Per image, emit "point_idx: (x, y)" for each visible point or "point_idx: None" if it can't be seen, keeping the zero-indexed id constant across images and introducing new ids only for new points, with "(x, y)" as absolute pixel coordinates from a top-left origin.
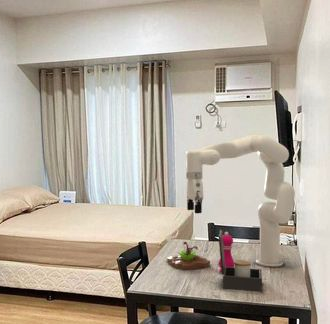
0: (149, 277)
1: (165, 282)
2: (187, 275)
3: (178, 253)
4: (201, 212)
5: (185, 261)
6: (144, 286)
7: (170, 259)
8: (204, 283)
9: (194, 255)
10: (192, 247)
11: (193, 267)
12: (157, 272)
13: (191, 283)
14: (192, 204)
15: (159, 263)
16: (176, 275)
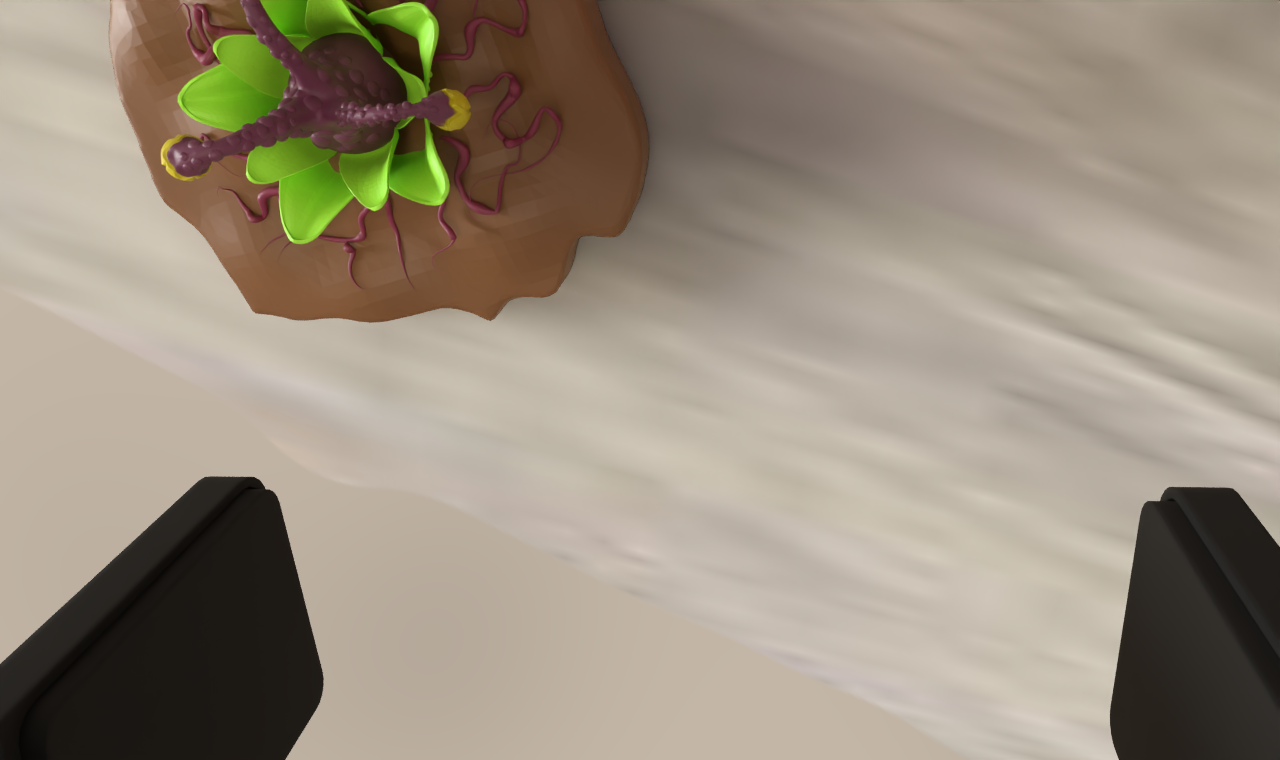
0: (852, 623)
1: (1059, 536)
2: (870, 242)
3: (307, 227)
4: (1229, 496)
5: (505, 172)
6: None
7: (382, 319)
8: (1244, 147)
9: (427, 32)
10: (268, 35)
11: (631, 90)
12: (695, 510)
13: (1187, 297)
14: (147, 697)
15: (354, 397)
16: (842, 361)
